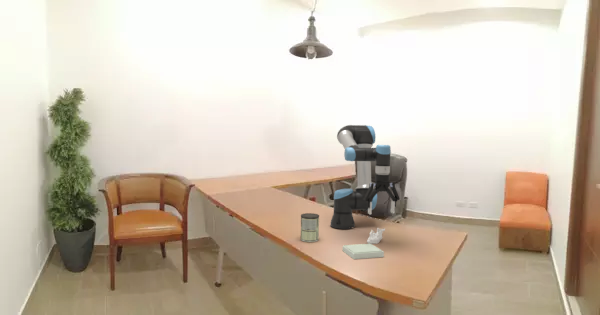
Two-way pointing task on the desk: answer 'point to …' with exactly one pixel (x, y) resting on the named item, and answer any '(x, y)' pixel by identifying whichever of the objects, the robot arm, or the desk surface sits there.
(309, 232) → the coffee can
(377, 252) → the tray
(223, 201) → the desk surface
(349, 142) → the robot arm
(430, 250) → the desk surface
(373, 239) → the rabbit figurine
